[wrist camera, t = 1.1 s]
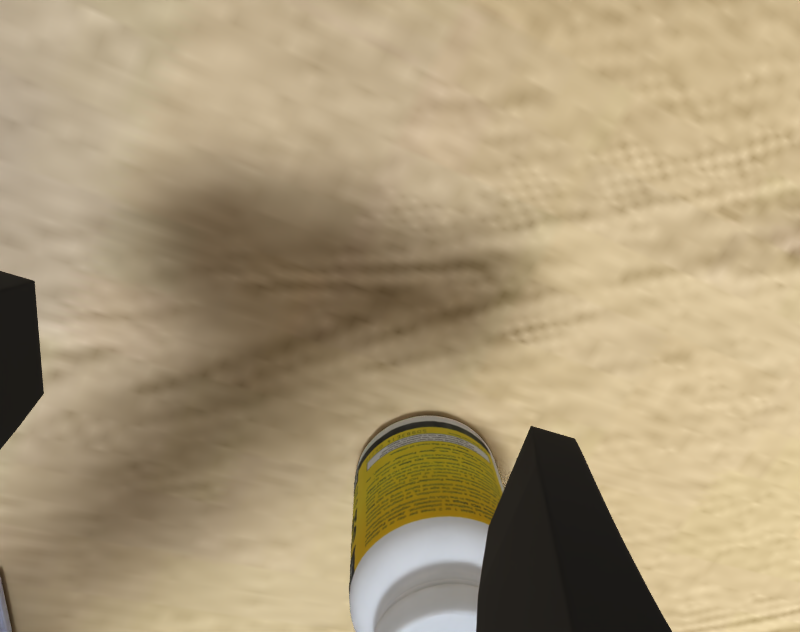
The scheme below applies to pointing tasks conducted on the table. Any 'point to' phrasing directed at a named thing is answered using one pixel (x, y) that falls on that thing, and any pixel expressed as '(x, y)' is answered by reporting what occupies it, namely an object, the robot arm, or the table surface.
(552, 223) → the table surface
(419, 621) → the pill bottle
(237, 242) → the table surface
